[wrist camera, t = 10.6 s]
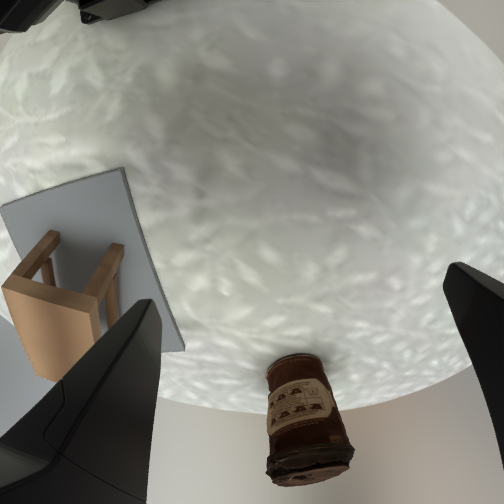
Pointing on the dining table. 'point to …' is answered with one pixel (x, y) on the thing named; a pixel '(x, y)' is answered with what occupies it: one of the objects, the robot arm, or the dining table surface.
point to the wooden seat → (59, 308)
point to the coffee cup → (304, 424)
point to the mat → (92, 242)
